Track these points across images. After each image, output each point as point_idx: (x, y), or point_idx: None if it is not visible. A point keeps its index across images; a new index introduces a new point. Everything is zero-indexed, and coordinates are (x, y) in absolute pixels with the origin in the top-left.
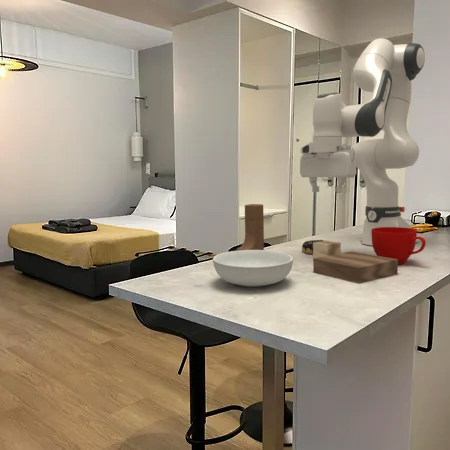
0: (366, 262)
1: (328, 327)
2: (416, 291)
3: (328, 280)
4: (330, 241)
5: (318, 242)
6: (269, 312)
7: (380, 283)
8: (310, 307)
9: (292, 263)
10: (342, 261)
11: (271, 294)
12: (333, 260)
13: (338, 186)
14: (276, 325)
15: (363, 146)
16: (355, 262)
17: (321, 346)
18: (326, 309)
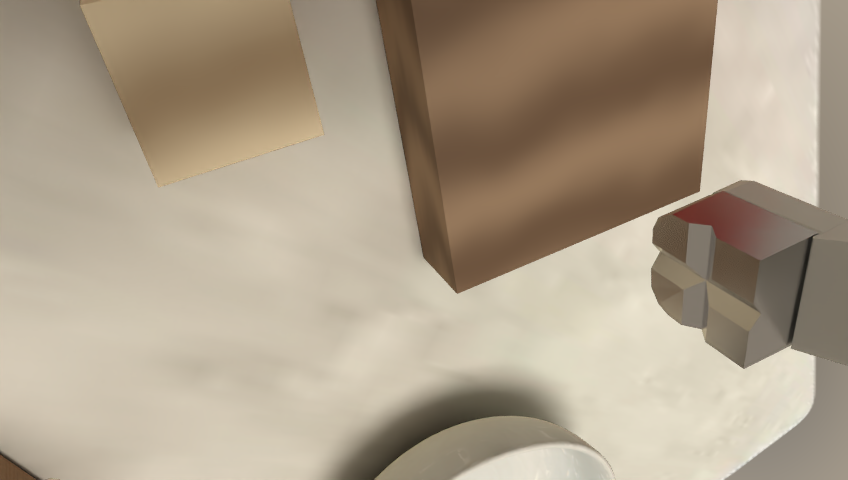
0: (665, 97)
1: (777, 385)
2: (811, 41)
3: (559, 252)
4: (166, 7)
5: (175, 143)
6: (664, 469)
7: None
8: (696, 387)
9: (575, 437)
10: (586, 192)
11: None
12: (547, 221)
13: (839, 336)
14: (716, 463)
15: None
16: (634, 146)
17: (805, 415)
18: (725, 359)
